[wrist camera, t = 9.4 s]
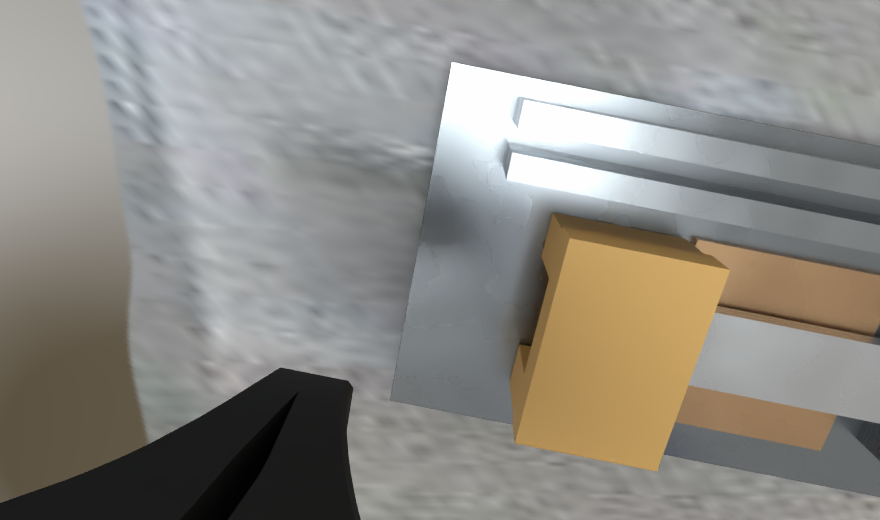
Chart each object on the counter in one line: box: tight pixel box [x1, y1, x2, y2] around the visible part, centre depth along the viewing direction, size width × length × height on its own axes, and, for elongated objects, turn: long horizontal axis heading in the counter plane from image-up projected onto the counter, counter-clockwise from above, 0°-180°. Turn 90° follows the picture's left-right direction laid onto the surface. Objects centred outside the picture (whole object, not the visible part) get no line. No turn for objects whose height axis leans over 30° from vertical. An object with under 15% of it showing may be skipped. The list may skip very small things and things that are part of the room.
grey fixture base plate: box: [390, 62, 880, 497], centre depth 18 cm, size 11×20×4 cm, turn 79°
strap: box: [689, 306, 880, 424], centre depth 17 cm, size 2×11×1 cm, turn 80°
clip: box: [510, 213, 730, 471], centre depth 17 cm, size 6×4×3 cm, turn 169°
